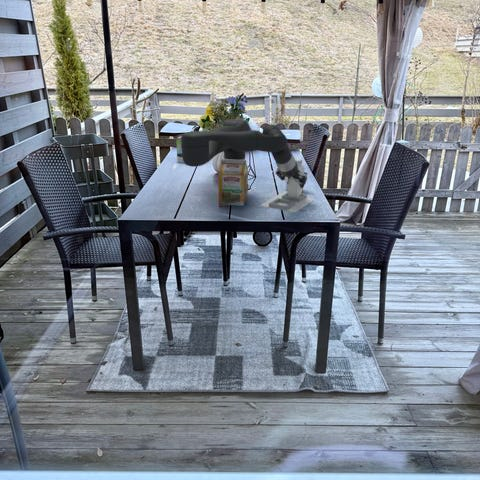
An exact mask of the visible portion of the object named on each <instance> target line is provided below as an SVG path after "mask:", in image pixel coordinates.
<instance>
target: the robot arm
mask: <svg viewBox="0 0 480 480" xmlns="http://www.w3.org/2000/svg"><path fill="white" fill-rule="evenodd" d="M180 136H181V146H182V158H183V161H184V164H185V165H186V166H188V167H201V166H203V165H205V164H208V163H209V162H210V161H211V160H213V158H214V157H216V156H217V155H219V154H221V153H223V159H232V160H246V152H254V151H260V152H267V153H271V155H272V158H273V159H274V161H275V165H276V167H277V168H276V171H275V175H276V176H277V177H278V178H279V179H280V181H284V182H285V183H286V182H287V184H288V183H289V178H290V179H294V180H295V181H296V182H298V183H299V185H300V187H301V188H303V189H304V188H305V185H306V184H307V183H306V182H307V181H308V172H306V171H304V173H301V172H300V171H299V170H298V165H297V163H296V161H295V158H296V157H294V155H293V153H292V151H291V149H290V146H289V144H288V138H287V136H286V135H285V134H284V132H283V131H282V130H281V129H280V128H279V127H278V126H277V125H275V124H268V125H266V126H265V127H264V128H263V130H262V132H261V131H259V130H256V129H255V130H254V129H253V130H251V127H250V124H249V123H248V122H247V121H246V120H244V119H243V120H242V119H233V118H231V119H229V118H228V119H225V120H224V122H223V124H222V126H217V127H213V128H211V129H210V130H195V131H187V132H184V133H182V135H180Z"/></svg>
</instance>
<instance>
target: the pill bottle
mask: <svg viewBox="0 0 480 480" xmlns="http://www.w3.org/2000/svg"><path fill="white" fill-rule="evenodd" d="M294 158H295V161H296V163H297V165H298V170H299V171H300V172H301V173H304V172H305V166H304V165H303V159H302V158H300V157H299V158H298V157H294ZM285 183H286V184H285V191H286V192H288V184H287V182H286V181H285ZM303 190H304V187H303V188H302V192H303Z"/></svg>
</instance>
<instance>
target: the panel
mask: <svg viewBox="0 0 480 480" xmlns="http://www.w3.org/2000/svg"><path fill="white" fill-rule="evenodd" d="M315 199H316V198H313V197H308V196H307V193H304V192H302V193H301V196H299V197H298V198H296V197H291V196H288V191H286V192H281V193H279V194H277V195H275V196H274V197H271V198H270V199H268V200H266V201H265V202H263V203H261V204H259V206H261V207H265V208H269V209H270V208H271V209H276V210H280V211H286V212H290V213H297V212H298V211H300V210H301V209H302V208H304V207H305V206H307V205H309V204H310V203H312V202H313V201H314V200H315Z"/></svg>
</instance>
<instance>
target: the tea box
mask: <svg viewBox="0 0 480 480" xmlns="http://www.w3.org/2000/svg"><path fill="white" fill-rule="evenodd" d="M181 136H182V135H180V136H178V137H176V138H175V139H176V140H175V141H176V162H177V163H184V161H183V158H182V146H181ZM184 164H185V163H184Z"/></svg>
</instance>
